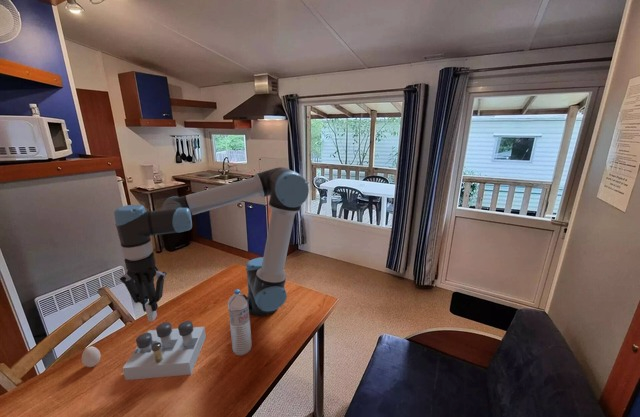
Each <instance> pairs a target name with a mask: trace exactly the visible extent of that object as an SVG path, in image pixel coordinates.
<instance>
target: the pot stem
mask: <svg viewBox="0 0 640 417" xmlns="http://www.w3.org/2000/svg"><path fill="white" fill-rule="evenodd" d="M151 348H152V351H153V352H154V357H155V361H156V363H159V362H161V361H162V360H163V358H162V353H161V343H160V342H157V343H154V344H153V345H152V346H151Z"/></svg>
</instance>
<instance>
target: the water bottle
mask: <svg viewBox="0 0 640 417" xmlns="http://www.w3.org/2000/svg"><path fill="white" fill-rule="evenodd" d="M233 293H234V294H232V295H231V296H230V297H229V299H228V301H227V307H228V315H229V316H228V317H229V326H230V327H229V328H230V337H231V346H232V347H231V348H232V352H233V354H234V355H236V356H245V355H247V354H248V353H249V352H250V351H251V349H252V344H253V342H252V331H251V328H252V327H251V318H250V314H249V307H248V303H249V302H248V298H247V295H246V294H244V293H242V292H241V290H240V289H239V288H237V289H235V290H234V291H233Z"/></svg>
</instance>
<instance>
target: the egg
mask: <svg viewBox="0 0 640 417" xmlns="http://www.w3.org/2000/svg"><path fill="white" fill-rule="evenodd" d="M100 360H101V352H100V350H99V349H98V348H97V347H95V346H92V345H91V346H88V347H86V348H85V349H84V350H83V352H82V354H81V362H82V364H83V366H85V367H87V368H92V367H95V366H96V365H97V364H98V363H99V362H100Z"/></svg>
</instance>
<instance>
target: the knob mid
mask: <svg viewBox="0 0 640 417" xmlns="http://www.w3.org/2000/svg"><path fill="white" fill-rule="evenodd" d="M172 329H173V327H172V323H171V322H170V321H169V322H167V321H166V322H162V323H160V324H159V325H157V326H156V328H155V330H156V331H157V336H158V337H160V338H161V343H162V347H163V348H167V347H169V346H170V345H171V344H172V340H171V332H172Z"/></svg>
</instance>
